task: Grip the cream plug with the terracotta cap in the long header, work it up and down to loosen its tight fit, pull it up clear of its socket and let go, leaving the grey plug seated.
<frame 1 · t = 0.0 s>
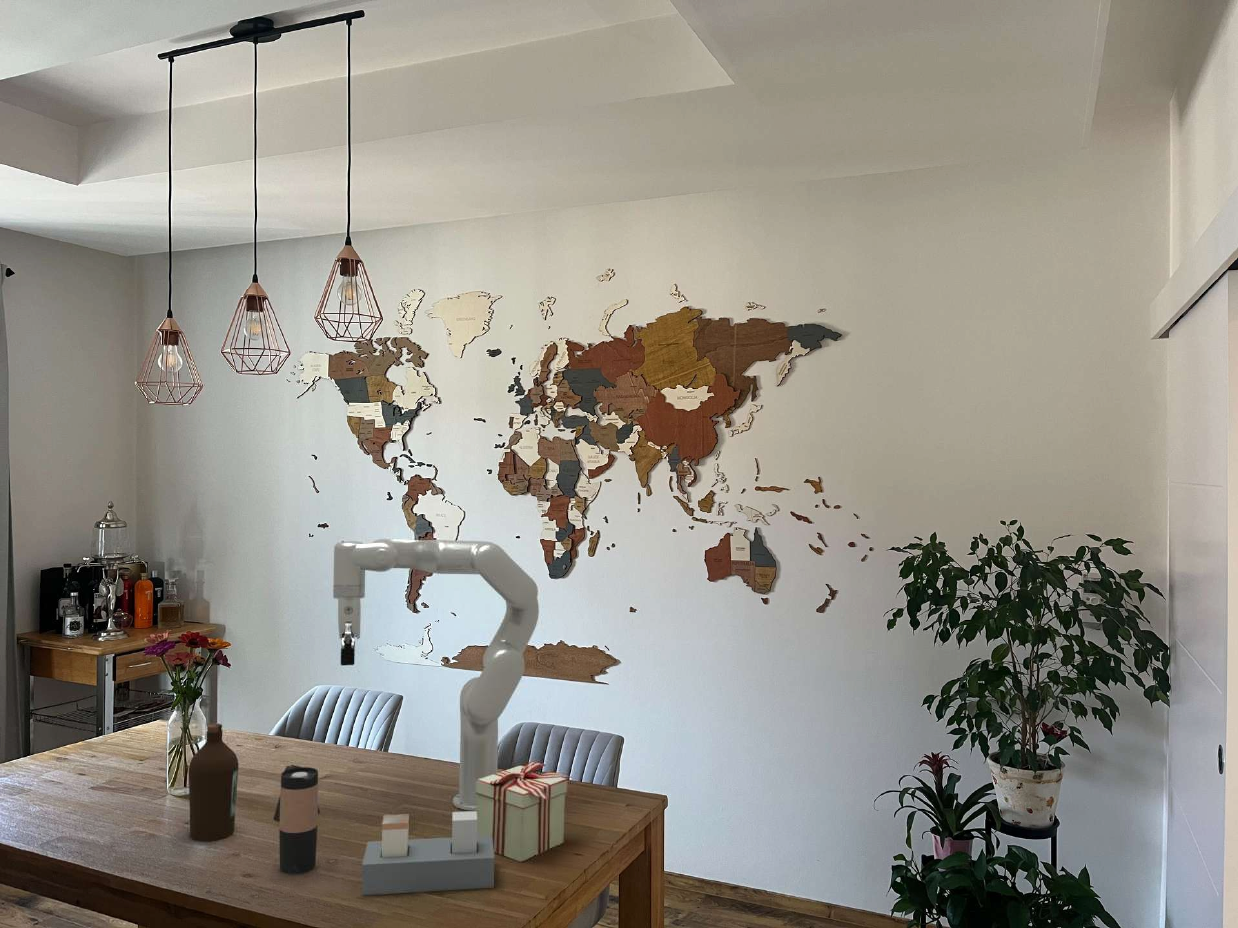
hand: (347, 661, 232), 37 cm above the table, tool pointing down, fingers open, 9 cm apart
gift box: (526, 846, 213), on the table
dark wedge: (296, 817, 228), on the table
header: (429, 878, 194), on the table
olive oil: (212, 834, 217), on the table
cream plug: (395, 848, 193), point 7 cm above the table, slide at 0.0 cm
travel mug: (297, 868, 199), on the table
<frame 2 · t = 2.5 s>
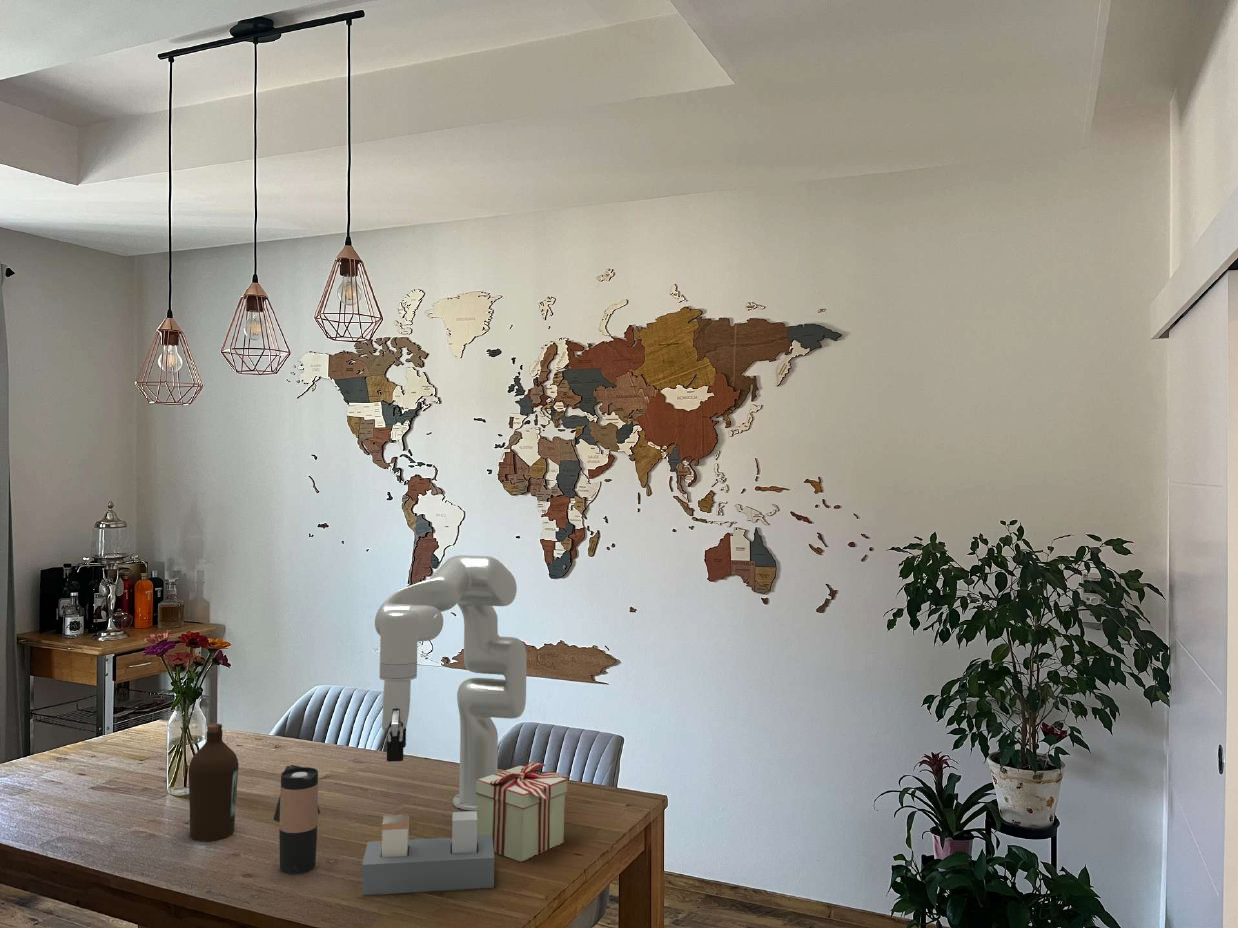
hand: (396, 753, 193), 26 cm above the table, tool pointing down, fingers open, 9 cm apart
nothing on the table moved.
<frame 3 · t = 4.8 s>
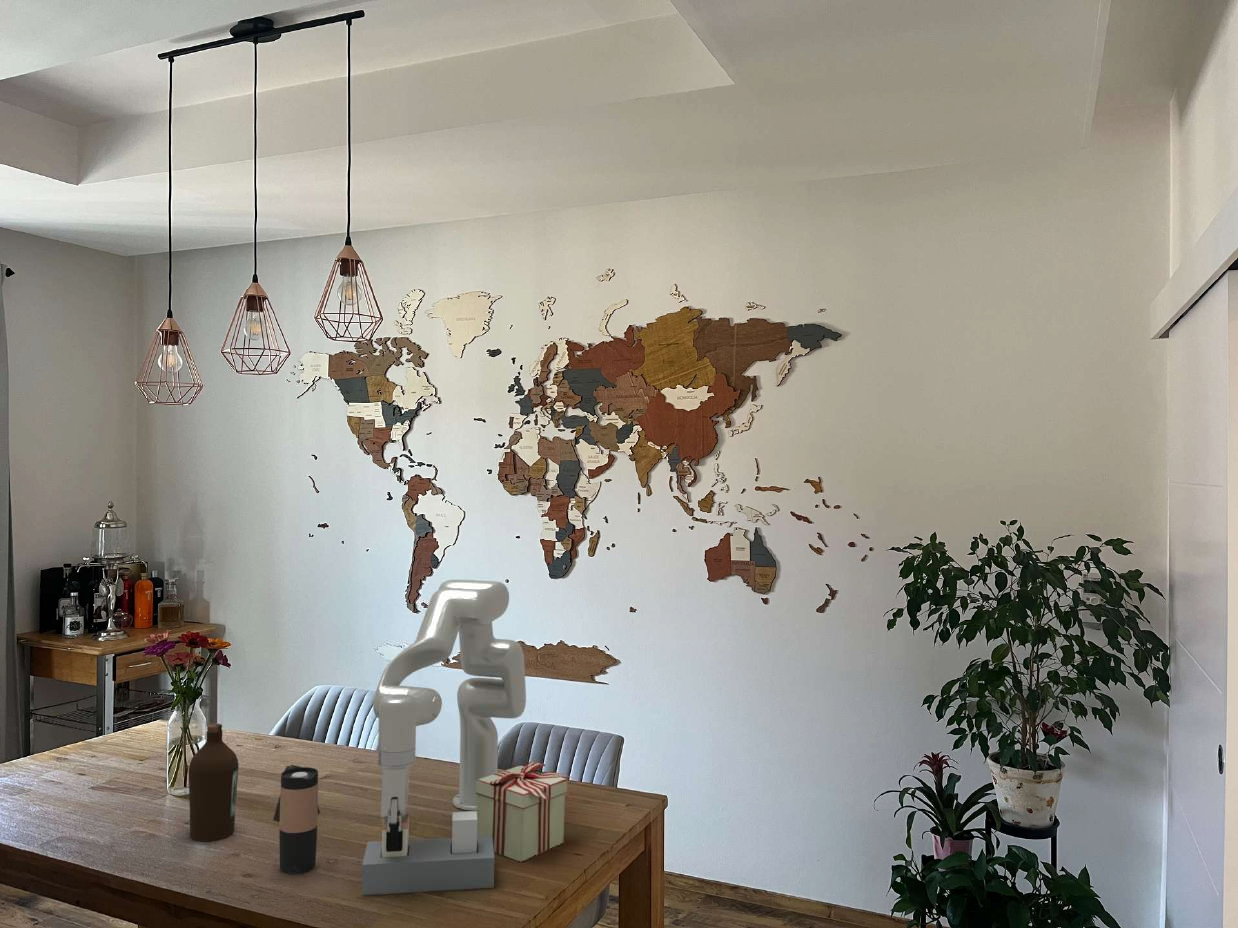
hand: (395, 844, 193), 7 cm above the table, tool pointing down, fingers closed on cream plug, 5 cm apart
cream plug: (395, 848, 193), point 7 cm above the table, slide at 0.0 cm, touching gripper
everything else where it was.
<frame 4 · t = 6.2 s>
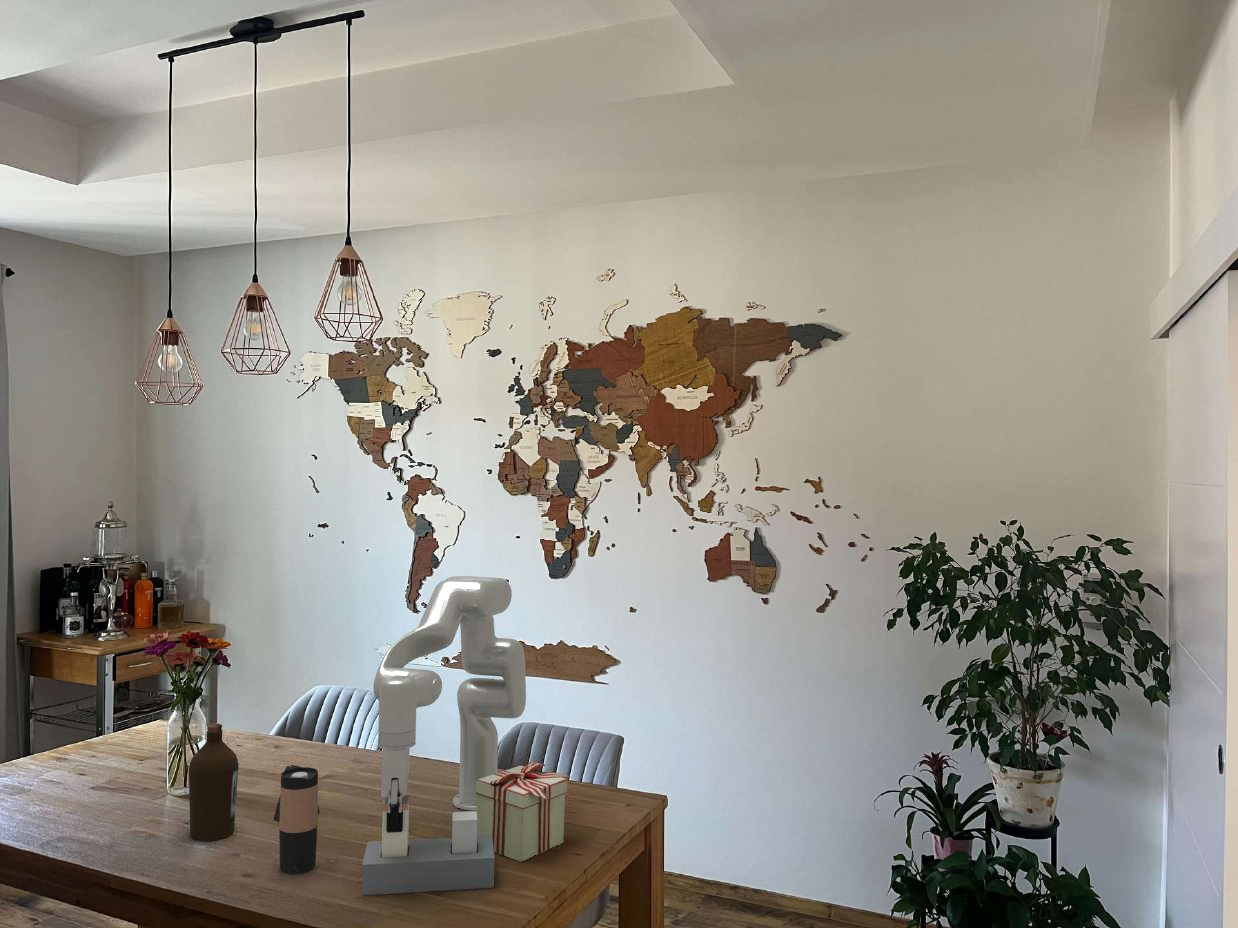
hand: (395, 825, 193), 11 cm above the table, tool pointing down, fingers closed on cream plug, 5 cm apart
cream plug: (395, 829, 193), point 10 cm above the table, slide at 3.8 cm, touching gripper
everything else where it was.
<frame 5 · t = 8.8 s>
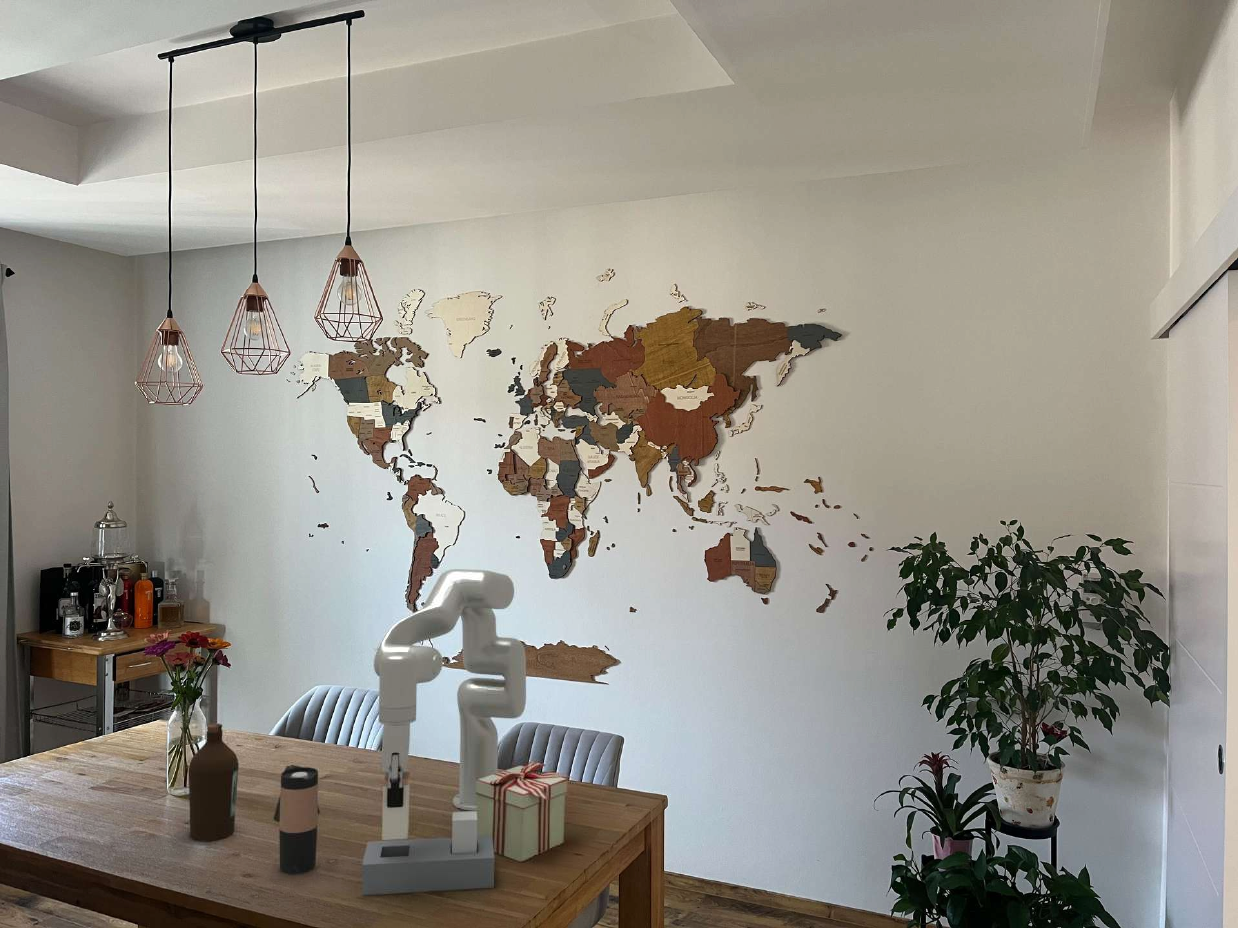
hand: (395, 800, 193), 16 cm above the table, tool pointing down, fingers closed on cream plug, 5 cm apart
cream plug: (396, 805, 193), point 15 cm above the table, slide at 8.8 cm, touching gripper
everything else where it was.
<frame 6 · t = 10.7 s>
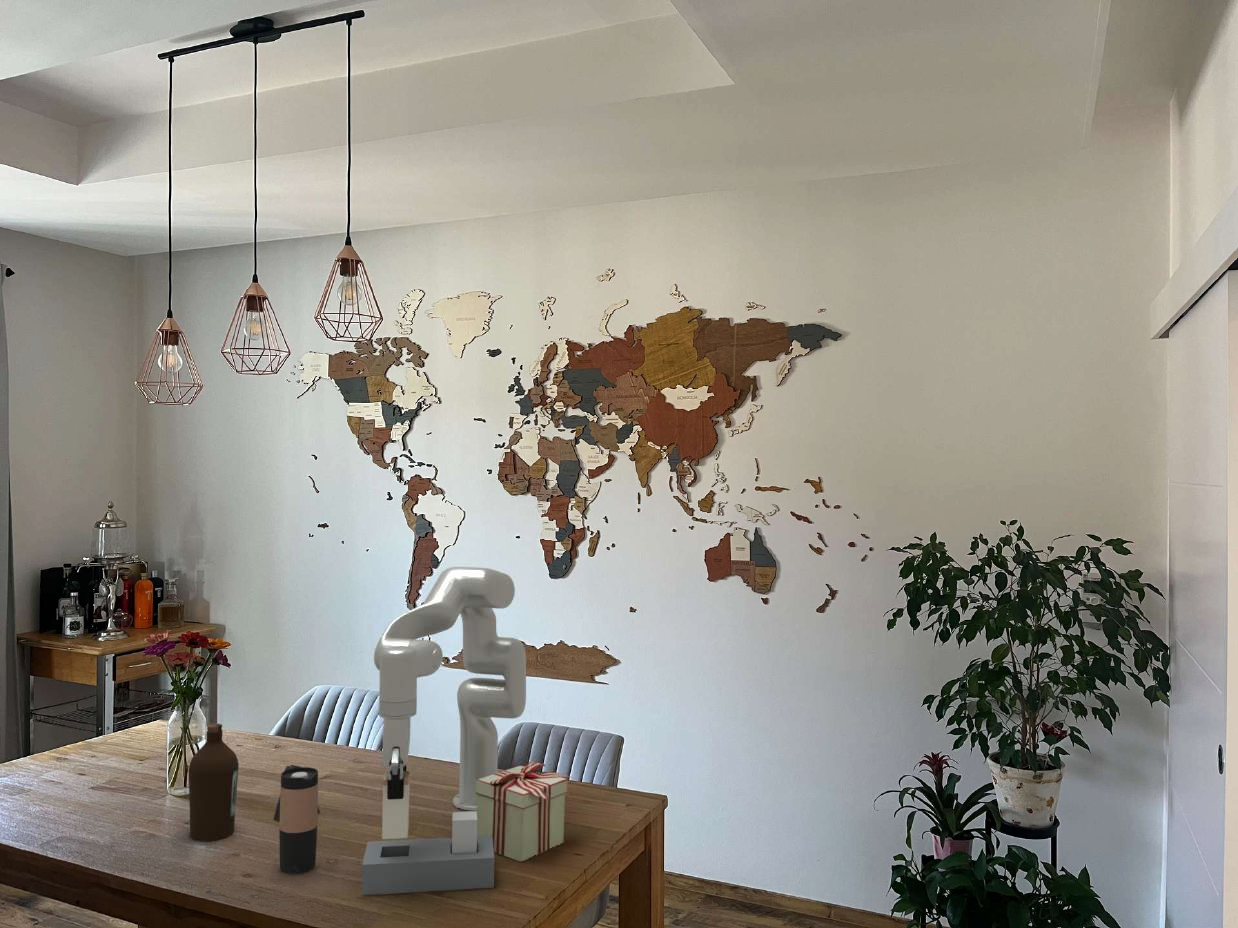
hand: (396, 790, 194), 18 cm above the table, tool pointing down, fingers open, 9 cm apart
cream plug: (396, 804, 193), point 16 cm above the table, slide at 8.9 cm
everything else where it was.
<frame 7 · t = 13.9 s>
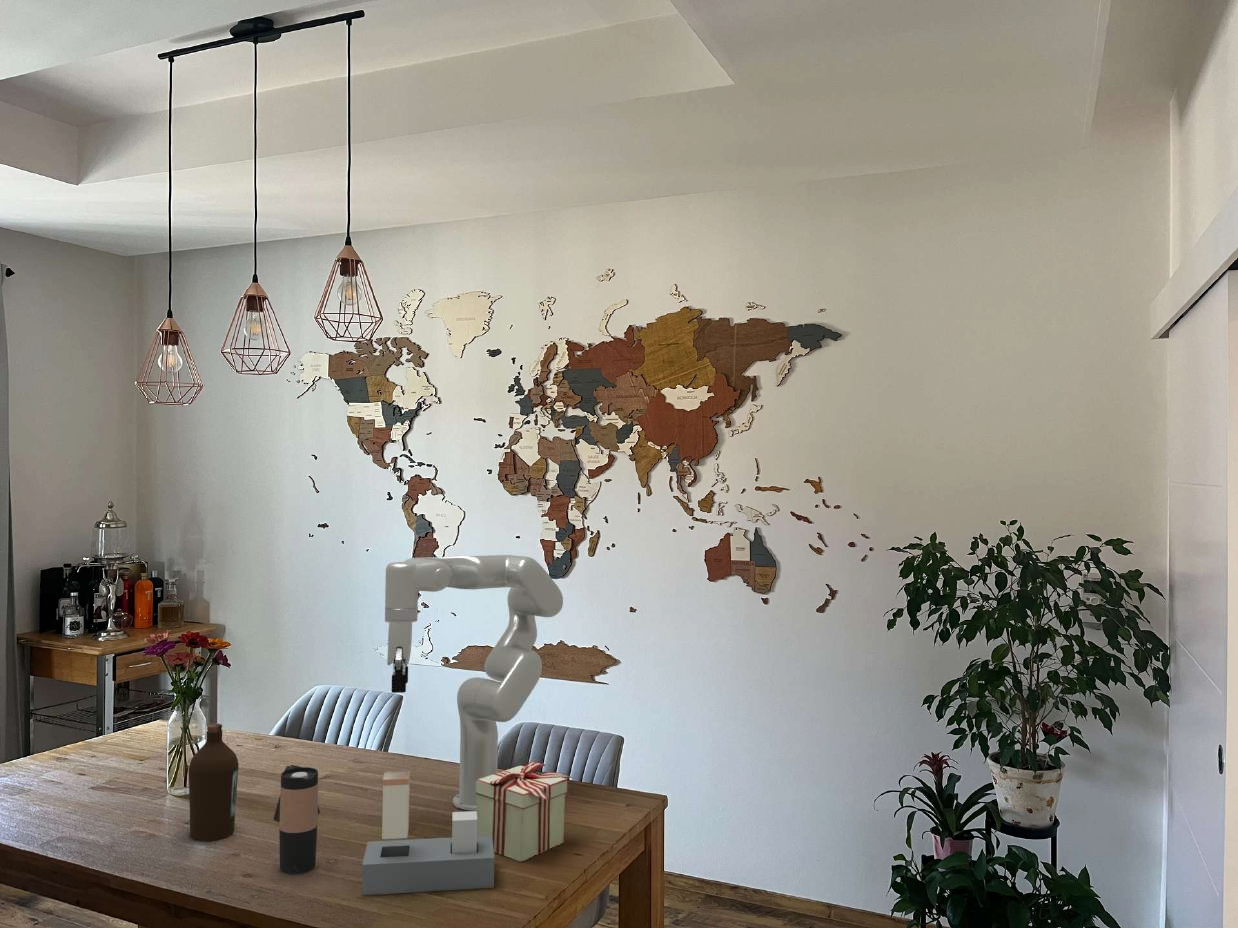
hand: (399, 687, 221), 33 cm above the table, tool pointing down, fingers open, 9 cm apart
nothing on the table moved.
at the end: cream plug slide at 8.9 cm; the gripper is holding nothing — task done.
